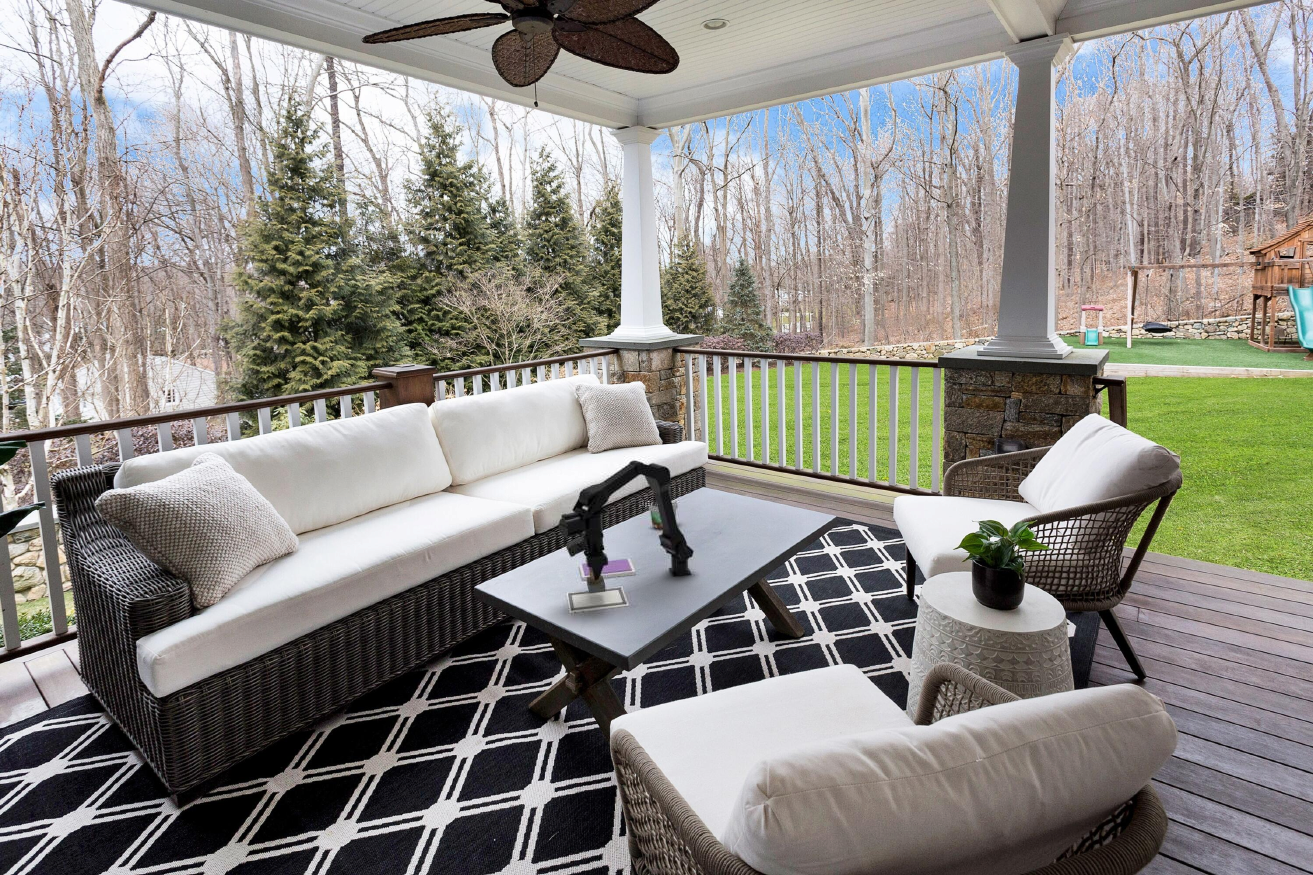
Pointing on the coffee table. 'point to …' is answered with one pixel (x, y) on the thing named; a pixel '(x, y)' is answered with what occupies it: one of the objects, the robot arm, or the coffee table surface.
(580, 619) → the coffee table surface
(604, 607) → the marked board
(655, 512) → the food container
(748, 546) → the coffee table surface
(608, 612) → the coffee table surface
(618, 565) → the ink pad
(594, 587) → the stamp
